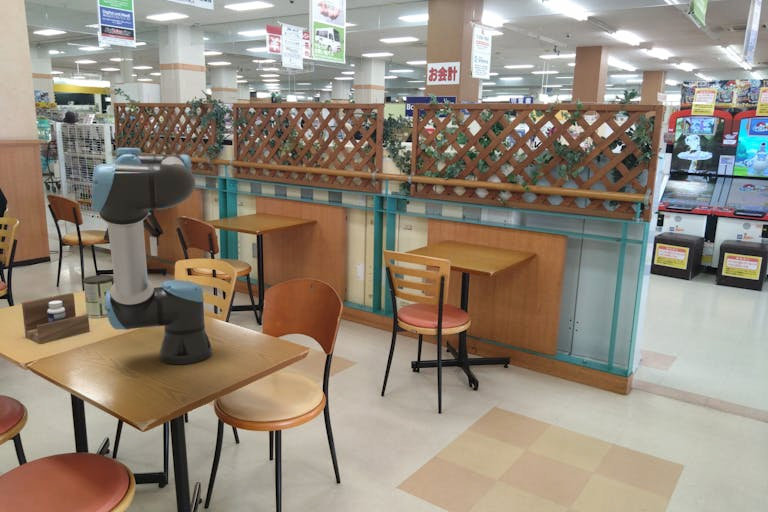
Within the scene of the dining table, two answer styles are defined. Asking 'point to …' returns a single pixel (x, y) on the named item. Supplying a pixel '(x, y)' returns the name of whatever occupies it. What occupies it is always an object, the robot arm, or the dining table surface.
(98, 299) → the coffee can
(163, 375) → the dining table surface
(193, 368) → the dining table surface
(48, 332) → the wooden display stand
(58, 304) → the pill bottle
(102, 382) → the dining table surface
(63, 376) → the dining table surface
